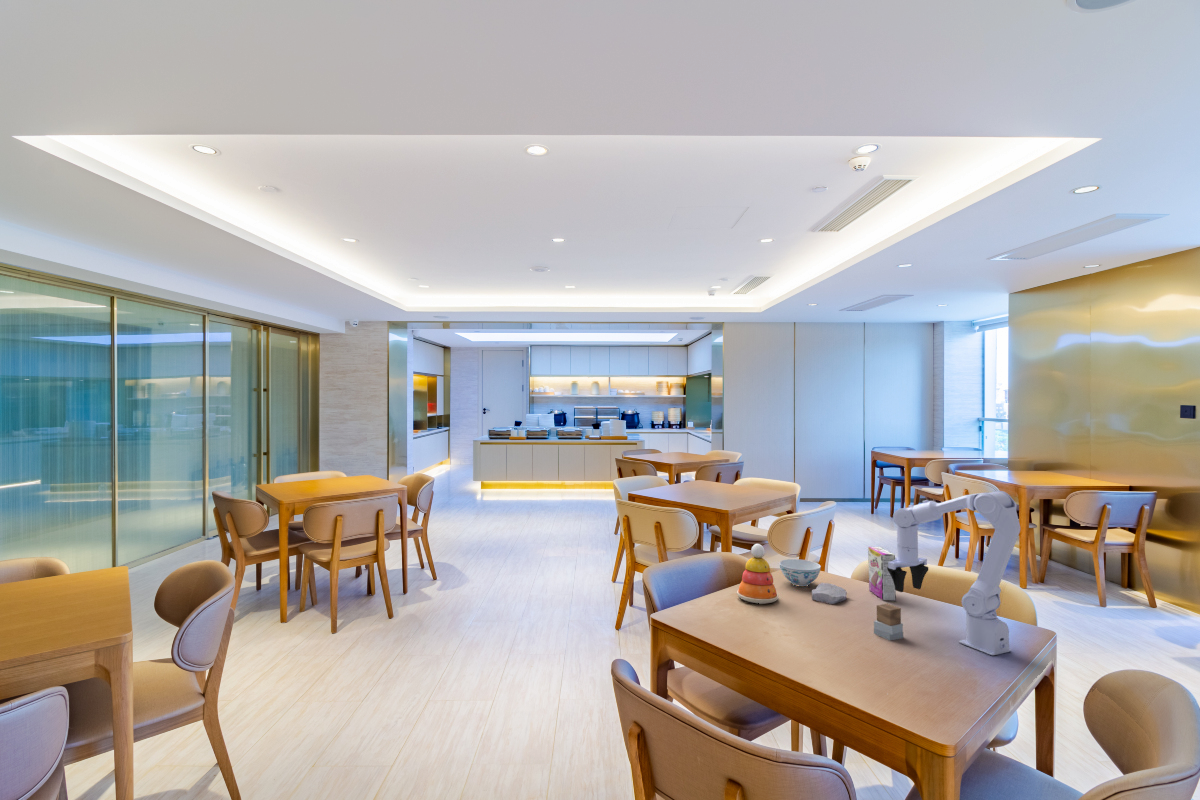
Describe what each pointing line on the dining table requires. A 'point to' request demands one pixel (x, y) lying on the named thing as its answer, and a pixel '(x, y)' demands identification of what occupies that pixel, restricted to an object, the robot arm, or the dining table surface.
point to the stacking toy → (757, 579)
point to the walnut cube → (888, 614)
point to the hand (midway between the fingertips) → (908, 589)
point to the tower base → (888, 635)
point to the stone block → (829, 593)
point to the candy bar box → (881, 573)
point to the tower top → (888, 627)
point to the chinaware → (800, 571)
